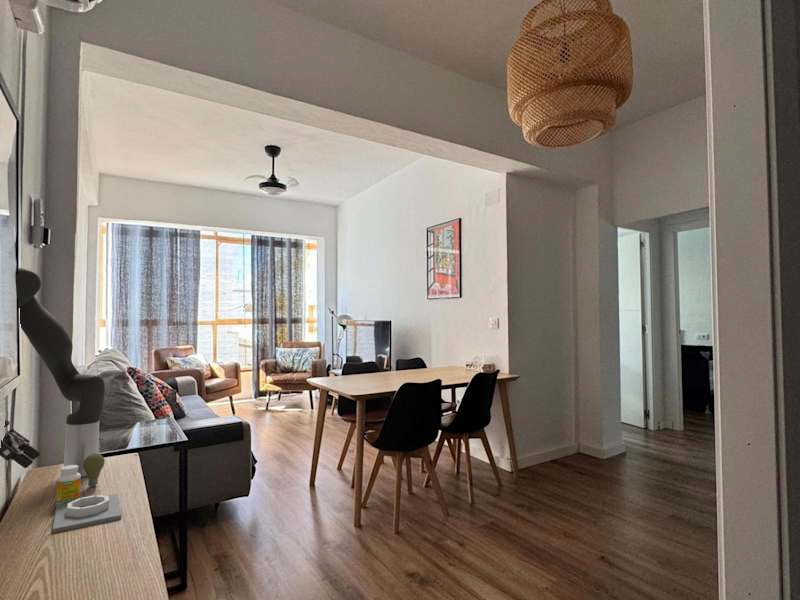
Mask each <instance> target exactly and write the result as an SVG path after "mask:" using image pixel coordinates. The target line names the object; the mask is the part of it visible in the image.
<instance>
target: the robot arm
mask: <svg viewBox="0 0 800 600" xmlns="http://www.w3.org/2000/svg"><path fill="white" fill-rule="evenodd" d="M18 268H19V269H18V274H17V298H18V308H20V324H21V327H20V328H21V330H22V331H23V333H24V335H25V336H26V337H27V340H28V341H29V343H30V344H31V345H32V347H33V348H34V350H35V351H36V352H37V354H38V355H39V357H40V358H41V359H42V360H43V362H44V364H45V366H46V367H47V369H48V370H49V371H50V373H51V376H52V377H53V379H54V381H55V383H56V384H57V387H58V389H59V391H60V393H61V394H62V396H63V398H65V400H68V401H70V402H74V403H79V406H78V409H77V410H76V411H75V412H71V413H69V414H68V415H66V420H65V421H66V423H65V436H64V437H65V440H64V441H65V442H64V458H63V467H64V466H68V465H78V471H77V472H78V473H80V474H81V478H83V477H87V475H86V472H85V471H84V469H83V462H84V460H85V459H86V458H87V457H88V456H89V455H91V454H100V444H101V443H100V441H99V437H100V423H101V422H100V420H101V414H102V413H103V410H104V400H105V394H106V393H105V391H106V383H105V381H104V380H105V379H104V378H103V377H102V376H100V375H97V374H81V373H80V372H79V371H78V370H77V368H76V367H75V366H74V364H73V361H72V353H73V341H72V338H71V337H70V335H69V333H68V332H67V330H66V329H65V328H64V327H65V326H63V325H62V323H61V322H60V321H59V320H58V319H57V318H56V317H55V316H54V315H52V313H50V312H49V311H48V310H47V309H46V308H44V306H43V305H42V304H41V303H40V302H39V301H38V299H37V298H36V295H37V294H38V293H39V291H40V289H41V285H42V281H41V278H40V277H39V275H38V274H37V273H36V272H35V271H33V270H30V269H28V268H23V267H18ZM10 424H11V422H10V421H9V420H8V419H6V421H5V426H4V427H6V428H8V426H9V425H10ZM30 442H31V441H30V440H29V439H28V438H26V437H25V436H24V435H22V434H20V433H19V432H18V431H17V430H15V429H14V428H10V429H9V430H7V433H6V434H5V436H4V438H3V441H2V440H1V448H0V457H1V458H3V459H4V460H5V461H8V462H9V461H14V462H15V463H17V464H18V465H20V466H21V467H23V468H24V469H27V468H29V466H32V464H33V463H34V461H35V460H36V459H37V458H38V457H39V456H40V455H41V452H39V451H38V450H37V449H36V448H34V447H33V446H32V445H31V444H30ZM33 460H34V461H33Z"/></svg>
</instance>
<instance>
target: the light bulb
mask: <svg viewBox="0 0 800 600" xmlns="http://www.w3.org/2000/svg"><path fill="white" fill-rule="evenodd" d="M105 461H106V460H105V458H104V456H103V454H100V453H99V454H91V455H89V456H88V457H87V458H86V459H85V460H84V462H83V469H84V471H85V472H86V475H87V476H86V478H87V479H88V480H87V481H88V483H87V484H88V486H89V487H91V488H94V487H96V486H97V485H98V484H99V482H98V481H99V477H100V474H101V472H102V469H103V468H104V467H105V466H104V465H105Z"/></svg>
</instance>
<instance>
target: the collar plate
mask: <svg viewBox="0 0 800 600" xmlns="http://www.w3.org/2000/svg"><path fill="white" fill-rule="evenodd" d="M118 520H122V510H121V506H120V501H119V494H118V493H112V494H108V495H107V494H106V495H101V494H95V495H89V496H84V497H79V499H77V500H74V501H72V502H67V503H62V504H56V507H55V512H54V518H53V525H52V534H56V533H59V532H60V531H61V532H65V531H64V530H66V531H69V530H75V529H80V528H84V527H89V526H93V525H98V524H103V522H104V523H108V521H109V522H113V521H118ZM74 528H75V529H74Z"/></svg>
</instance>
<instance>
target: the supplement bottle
mask: <svg viewBox="0 0 800 600" xmlns="http://www.w3.org/2000/svg"><path fill="white" fill-rule="evenodd" d="M77 471H78V465H68V466H64V465H63V466H62V467H61V468H60V475H58V476H57V479H56V494H55V495H56V497H55V504H56V505H57V504H62V503H67V502H72V501H74V500H77V499H79V498H81V497H80V496H81V479H82V477H81V474H80V473H78V472H77Z"/></svg>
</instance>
